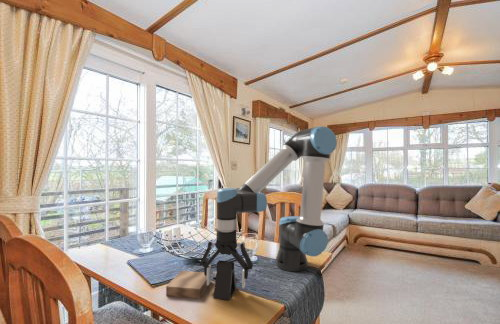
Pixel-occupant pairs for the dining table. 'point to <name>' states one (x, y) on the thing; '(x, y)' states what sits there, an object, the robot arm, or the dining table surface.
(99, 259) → the dining table surface
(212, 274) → the loose bolt
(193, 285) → the brown flat block
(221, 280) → the phone stand
